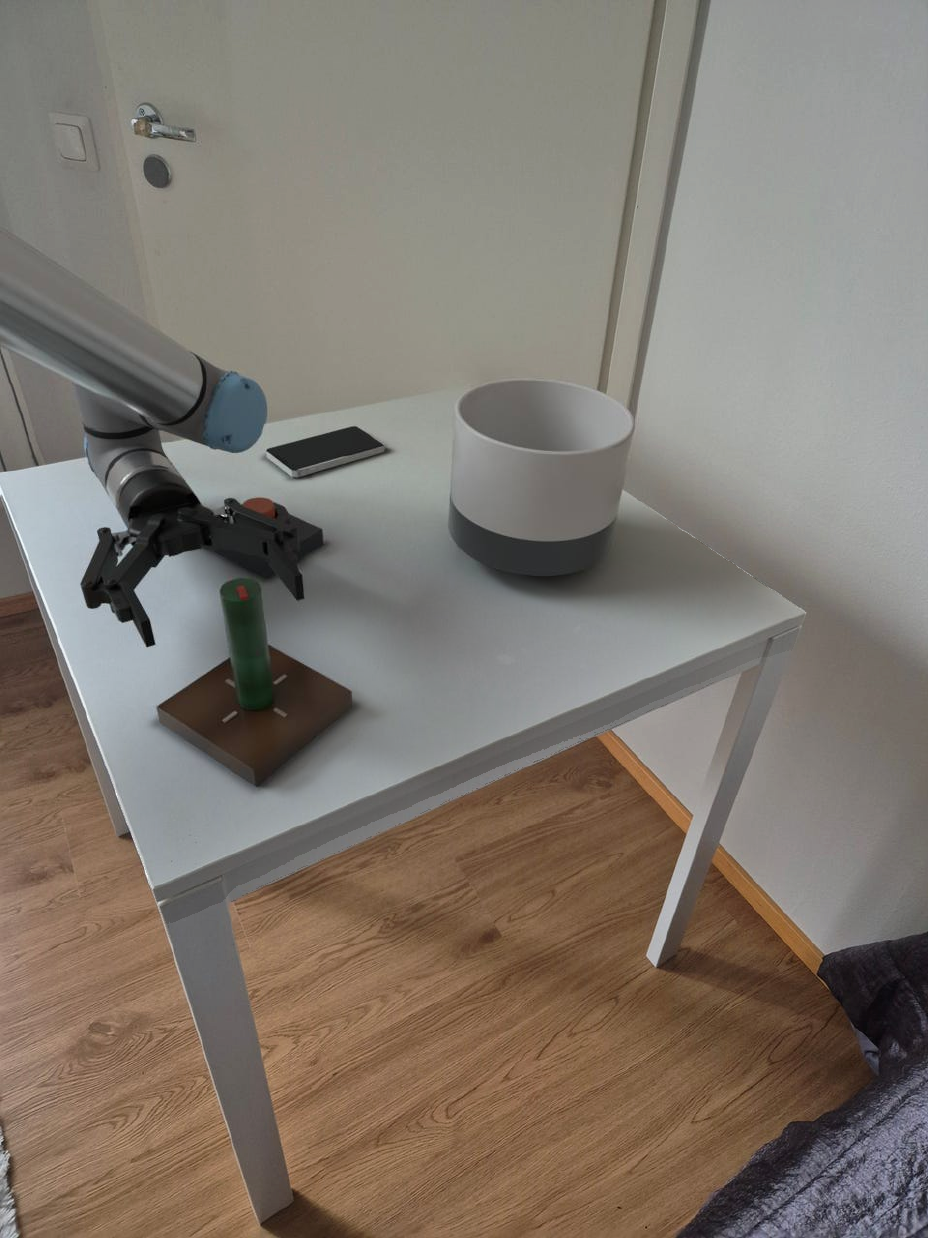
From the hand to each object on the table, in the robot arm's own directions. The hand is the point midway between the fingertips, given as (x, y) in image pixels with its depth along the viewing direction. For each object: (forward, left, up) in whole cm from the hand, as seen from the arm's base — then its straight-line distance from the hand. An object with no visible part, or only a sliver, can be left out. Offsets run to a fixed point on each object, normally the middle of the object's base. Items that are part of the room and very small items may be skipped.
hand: (227, 610), depth 70 cm
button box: (-16, +18, -9) cm, 26 cm away
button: (-16, +18, -5) cm, 25 cm away
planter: (+9, +37, -9) cm, 39 cm away
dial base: (+4, -2, -9) cm, 10 cm away
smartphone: (-26, +40, -9) cm, 49 cm away
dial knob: (+4, -2, -7) cm, 8 cm away
